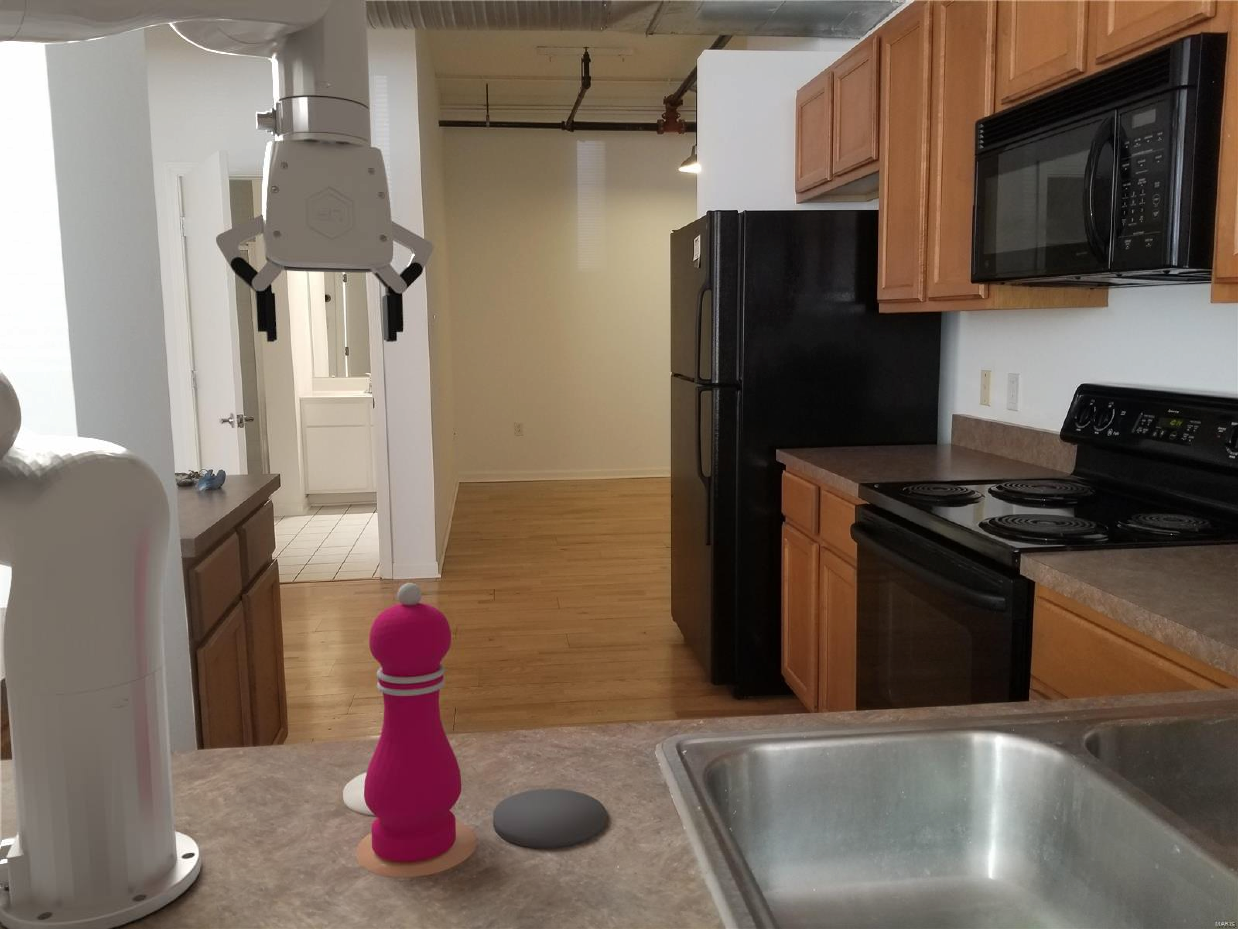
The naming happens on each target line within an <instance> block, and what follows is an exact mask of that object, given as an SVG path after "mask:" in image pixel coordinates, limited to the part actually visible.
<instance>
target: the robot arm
mask: <svg viewBox="0 0 1238 929" xmlns="http://www.w3.org/2000/svg"><path fill="white" fill-rule="evenodd" d="M366 2H367V1H366V0H0V43H16V44H17V43H20V44H34V45H35V44H37V45H57V44H66V43H67V44H68V43H76V42H86V41H93V40H97V39H103V38H108V37H111V36H115V35H121V34H123V33H127V32H131V31H132V32H133V31H135V30H139V29H144V28H148V27H154V26H158V25H165V24H169V25H170V27H172V29H173V30H174V31H175V32H176V33H177V34H178V35H180V36H181V38H183V39H185V40H186V41H187V42H189V43H191V44H193V45H195V46H197V47H198V48H201V49H203V50H206V51H210V52H214V53H219V54H226V55H235V56H245V57H255V58H256V57H257V58H263V59H268V60H270V61H271V63H272V80H273V99H274V101H273V102H274V103H273V104H274V107H272V108H270V111H269V110H265V112H262V111H261V112H259V111H256V112H255V117H256V119H255V120H256V121H255V122H256V130H261V131H266V132H267V133H271V136H275V140H272V141H268V142H267V145H266V150H265V156H264V164H263V179H262V214H261V215H258V216H256V217H254V218H252V219H250V220H248V221H245V222H243V223H241V224H238V225H237V226H233V227H232V228H230V229H228V230H226V231H224V232H222V233H219V234H218V235H216V238H215V243H216V245H217V247H218V248H219V251H220V252H221V253H222V255H223V257H224V259H225V260H226V262H227V263H228V266H229V267H230V268H231V270H232V271H233V273H234V274H235V275H236V276H237V277H239V278H240V279H241V280H242V281H243V282H244V283H245V284H246V285H247V286H248V287H249V288H250V289H252V291H253V292H254V293H255V305H256V307H255V308H256V327H257V328H256V329H257V332H258V333H261V332H262V333H263V332H265V333H266V342H267V343H272V342H273V343H274V342H275V341H277V340H278V335H277V334H278V332H277V331H278V330H277V329H278V328H277V313H276V311H277V310H276V293H275V292H273V288H272V284H273V282H274V281H275V280H276V279H277V278H278V277H279V275H280V274H281V273H282V272H283V271H286V272H287V271H289V272H310V273H311V272H315V273H351V274H352V273H357V274H359V273H362V274H363V273H365V274H366V273H367V274H368V273H372V274H373V276H374V277H375V278H376V279H377V280H378V282H379V283H381V285H382V286H383V287H384V289H385V292H384V295H383V296H382V298H381V304H382V307H381V308H382V309H381V310H382V330H383V331H382V332H383V334H382V336H383V338H382V339H383V341H385V342H386V343H387V342H388V343H390V342H391V343H392V342H397V340H398V334H397V333H403V332H404V306H403V305H404V303H403V302H404V301H403V293H405V292H406V290H407V289H408V288H409V287H410V286H412V284H413V283H414V282H415V281H416V280H417V279H418V278H419V277H421V275H423V272H424V268H426V265H427V263H428V261H429V259H430V257H431V255H432V253H433V250H434V245H433V243H432V242H431V241H429V240H428V239H425V238H423V237H422V236H420V235H418V234H416V233H415V232H412V231H411V230H409V229H407V228H406V227H403V226H402V225H400V224H398V223H397V222H395V221H393V220H392V219H393V218H392V211H391V209H392V208H391V201H390V200H391V199H390V191H389V185H388V177H387V171H386V167H385V162H384V157H383V153H382V149H380V148H378V147H374V146H372V134H371V133H372V131H371V109H370V108H371V107H370V106H371V105H370V104H371V103H370V102H371V101H370V78H369V76H370V75H369V46H368V22H367V20H368V18H367V16H368V15H367V3H366ZM260 235H262V241H263V249H264V256H265V260H266V263H265V264H264V266H262V268H261V269H260V270H259V271H257V270H256V269H255V268H254V267H253V266H252V265H251V264H250V263H249V262H247V261H246V260H245V258H244V257H243V255H242V253H241V251H240V248H239V247H240V245H241V244H243V243H245V242H248V241H249V240H252V239H254V238H256V237H257V236H260ZM394 242H395V243H397V244H399V245H400V246H403V247H405V248H406V249H408V250H410V252H411V258H410V261H409V262H408V264H407V265H406V267H405V268H404V269H403V270H402V271H401V272H400V273H398V272H397V271H396V269H394V267H393V266H392V265H391V263H392V261H393V259H394V258H393V257H394ZM166 492H167V491H166V489H165V487H164V484H163V483H162V480H161V479H160V478H159V475H158V474H157V473H156V471H155V470H154V469H153V468H152V467H151V466H150V465H149V463H147V462H146V461H145V460H144V459H143V458H141V457H140V456H139V455H138V454H137V453H135V452H133V451H131V450H129V449H128V448H126V447H123V446H121V445H120V444H119V445H118V444H115V443H114V442H110V441H106V440H101V439H97V438H93V437H89V438H88V437H83V436H81V437H80V436H72V435H71V436H69V435H68V436H67V435H42V434H41V435H40V434H37V433H36V432H34V431H32V430H31V429H29V428H28V427H26V426H25V425H23V424H22V411H21V405H20V399H19V398H18V395H17V393H16V391H15V389H14V387H13V385H12V383H11V382H10V379H8V377H7V376H6V375H5V374H4V373H3V372H2V371H1V370H0V565H1V566H4V567H9V568H11V569H10V570H11V579H10V588H9V593H8V599H7V605H6V610H5V616H4V623H3V624H4V625H3V641H2V642H3V665H4V668H3V669H4V678H5V679H4V680H5V681H4V682H5V686H6V698H7V708H8V710H7V711H8V721H9V722H8V723H9V734H10V736H9V737H10V745H11V758H12V771H13V774H12V775H13V783H14V784H13V785H14V786H13V787H14V796H15V797H14V798H15V809H16V820H17V821H16V822H17V823H16V824H17V833H16V835H12V836H8V837H7V836H5V837H3V838H2V841H1V843H0V923H1V924H2V926H4V927H6V928H7V929H113V928H117V927H120V926H123V925H126V924H128V923H131V922H133V921H136V920H139V919H141V918H144V917H145V916H148V915H150V914H151V913H154V912H156V911H158V910H160V909H162V908H163V907H166V905H168V904H170V903H171V902H173V901H175V899H177V898H178V897H180V896H181V895H182V894H183V893H184V892H186V890H188V889H189V887H191V885H193V883H194V882H195V881H196V879H197V877H198V875H199V874H200V872H201V866H202V860H201V858H202V857H201V849H200V847H199V845H198V843H197V841H195V840H194V839H193V838H192V837H190V836H189V835H187V834H184V833H181V832H179V831H176V819H175V818H176V817H175V804H174V788H173V774H172V773H173V772H172V755H171V739H170V738H171V737H170V724H169V723H170V722H169V720H170V719H169V707H168V706H169V704H168V690H167V674H166V660H165V644H164V626H163V624H164V622H163V593H164V592H163V591H164V590H163V589H164V579H165V578H164V576H165V575H164V574H165V567H166V560H167V554H168V547H169V539H170V530H171V529H170V528H171V513H170V512H171V510H170V503H169V499H168V495H167V493H166Z"/></svg>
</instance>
